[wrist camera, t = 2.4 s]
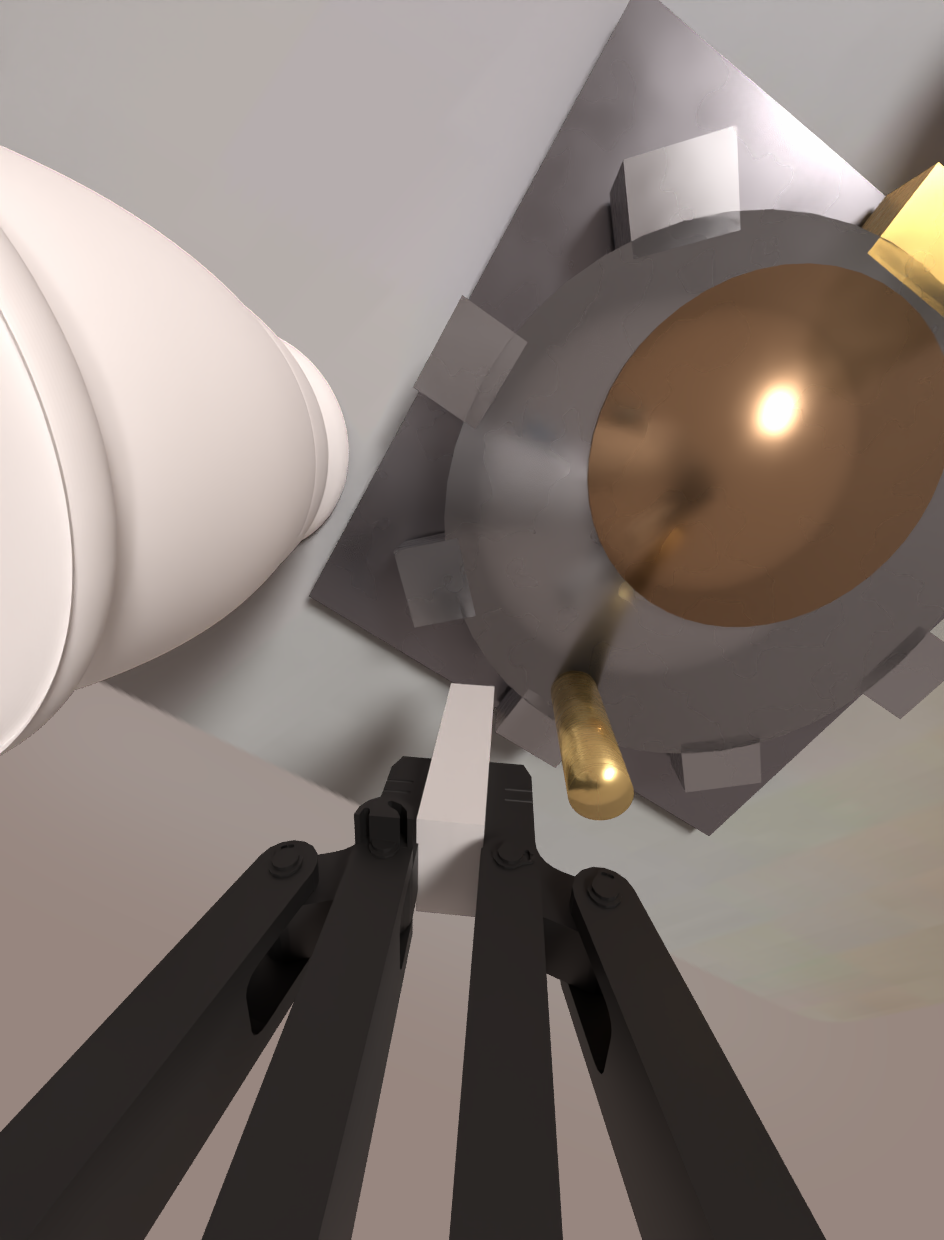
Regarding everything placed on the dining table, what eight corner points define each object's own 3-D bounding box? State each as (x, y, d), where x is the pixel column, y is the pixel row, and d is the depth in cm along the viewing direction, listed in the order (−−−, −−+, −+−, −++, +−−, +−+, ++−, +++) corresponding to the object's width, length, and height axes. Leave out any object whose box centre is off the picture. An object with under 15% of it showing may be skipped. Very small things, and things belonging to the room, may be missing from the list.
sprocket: (642, -13, 14) (799, -540, 6) (1152, 427, 17) (1676, 416, 9) (312, 597, 21) (203, 684, 13) (711, 836, 24) (805, 1019, 16)
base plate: (632, 6, 15) (641, -23, 14) (1124, 426, 18) (1158, 425, 17) (315, 590, 22) (307, 597, 21) (702, 824, 25) (710, 839, 24)
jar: (279, 618, 23) (-98, 911, 9) (80, 456, 21) (-829, 490, 7) (430, 435, 19) (228, 421, 5) (212, 225, 18) (-983, -644, 3)
